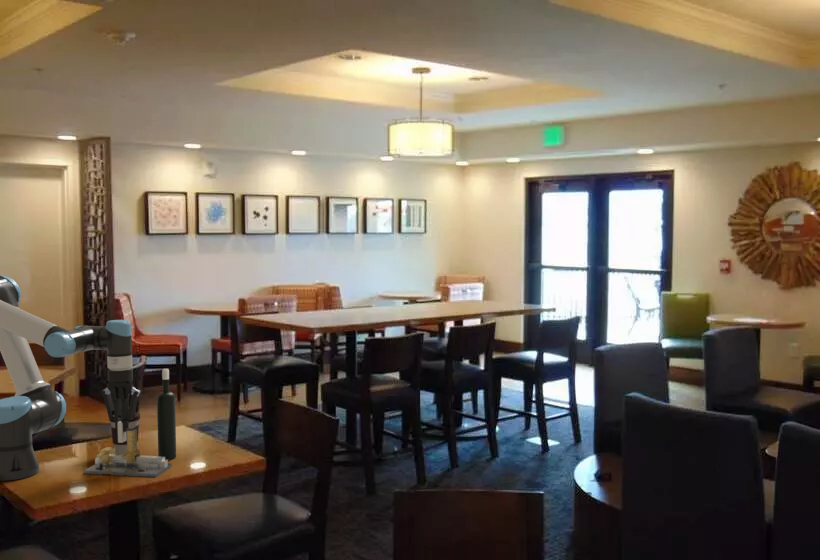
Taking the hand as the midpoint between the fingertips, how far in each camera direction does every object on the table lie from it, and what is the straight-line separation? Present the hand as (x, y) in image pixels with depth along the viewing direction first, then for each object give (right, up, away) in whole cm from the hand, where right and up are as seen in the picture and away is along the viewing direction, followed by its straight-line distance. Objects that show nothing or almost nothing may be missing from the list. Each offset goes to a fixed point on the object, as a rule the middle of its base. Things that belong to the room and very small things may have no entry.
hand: (122, 441), depth 257 cm
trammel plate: (+3, -9, -2) cm, 9 cm away
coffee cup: (-5, -8, +16) cm, 19 cm away
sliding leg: (+3, -7, -2) cm, 8 cm away
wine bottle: (+11, -8, +12) cm, 18 cm away
